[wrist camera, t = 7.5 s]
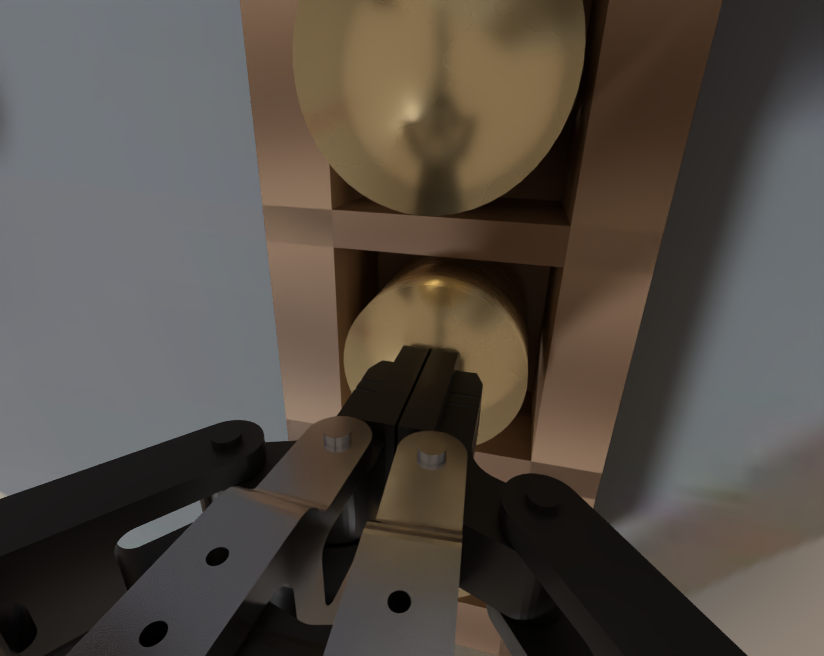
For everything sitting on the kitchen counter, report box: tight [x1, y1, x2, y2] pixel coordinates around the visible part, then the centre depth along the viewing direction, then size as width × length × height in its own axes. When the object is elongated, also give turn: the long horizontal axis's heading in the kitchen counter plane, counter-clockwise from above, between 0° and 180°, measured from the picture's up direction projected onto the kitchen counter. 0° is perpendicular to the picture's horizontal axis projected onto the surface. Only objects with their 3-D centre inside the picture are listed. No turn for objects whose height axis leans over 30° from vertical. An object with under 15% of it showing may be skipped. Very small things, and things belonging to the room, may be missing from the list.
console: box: [240, 0, 723, 656], centre depth 15 cm, size 25×10×5 cm, turn 178°
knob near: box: [292, 0, 586, 216], centre depth 10 cm, size 5×5×4 cm
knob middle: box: [344, 255, 528, 445], centre depth 14 cm, size 5×5×4 cm
